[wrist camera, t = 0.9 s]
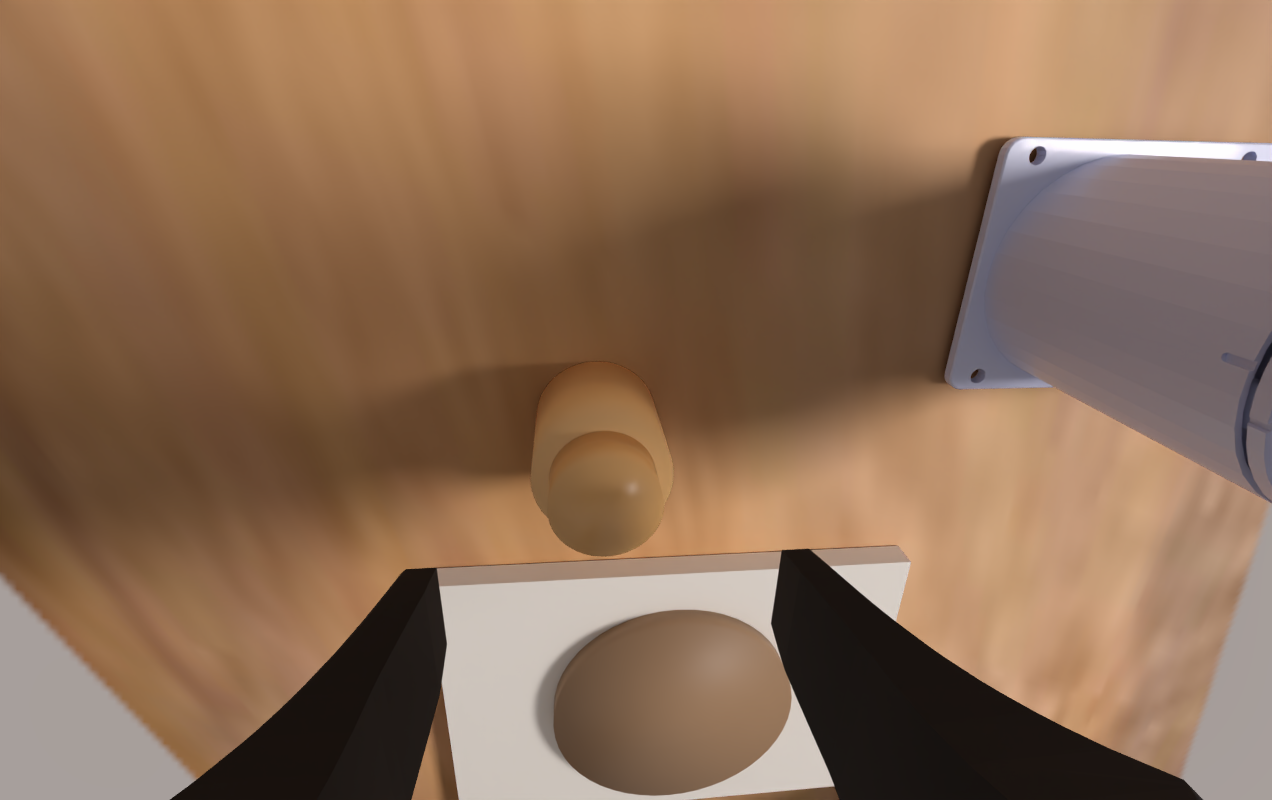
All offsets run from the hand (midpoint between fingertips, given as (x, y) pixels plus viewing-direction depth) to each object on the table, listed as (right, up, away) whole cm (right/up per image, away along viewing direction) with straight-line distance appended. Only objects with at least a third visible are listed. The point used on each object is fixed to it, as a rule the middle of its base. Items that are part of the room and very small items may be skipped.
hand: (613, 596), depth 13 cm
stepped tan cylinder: (-1, +4, +8) cm, 9 cm away
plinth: (+2, -8, +13) cm, 16 cm away
